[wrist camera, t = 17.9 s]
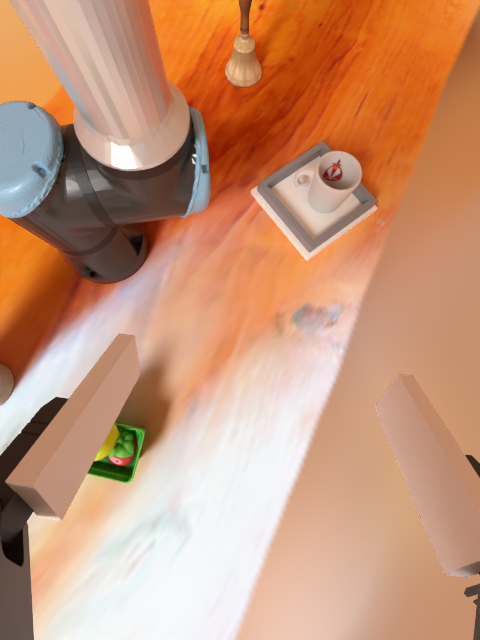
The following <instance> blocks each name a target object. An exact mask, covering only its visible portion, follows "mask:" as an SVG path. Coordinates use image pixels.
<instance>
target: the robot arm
mask: <svg viewBox="0 0 480 640" xmlns="http://www.w3.org/2000/svg"><path fill="white" fill-rule="evenodd" d="M9 1H10V3H11V4H12V6H13V8H14V9H15V11H16V13H17V14H18V16H19V17H20V19H21V21H22V22H23V24H24V25H25V27H26V29H27V30H28V32H29V33H30V35H31V36H32V38H33V40H34V41H35V43H36V44H37V46H38V48H39V49H40V51H41V52H42V54H43V56H44V57H45V59H46V60H47V62H48V64H49V65H50V67H51V68H52V70H53V72H54V73H55V75H56V76H57V78H58V79H59V81H60V83H61V84H62V86H63V87H64V89H65V91H66V92H67V94H68V95H69V97H70V99H71V100H72V102H73V103H74V105H75V109H74V117H73V121H74V124H67V125H59V123H58V122H57V121H56V119H55V118H54V117H53V116H52V115H51V114H50V113H48V112H47V111H46V110H44V109H43V108H41V107H39V106H36V105H35V104H34V103H31V102H26V101H10V102H6V103H3V104H0V214H1V215H3V216H5V217H7V218H8V219H10V220H12V221H13V222H15V223H16V224H18V225H20V226H21V227H23V228H24V229H26V230H28V231H29V232H31V233H33V234H34V235H36V236H37V237H39V238H41V239H42V240H44V241H45V242H47V243H49V244H50V245H52V246H53V247H55V248H57V249H58V251H59V252H60V254H61V255H62V257H63V258H64V260H65V261H66V263H67V264H68V266H69V267H70V268H71V269H72V270H73V271H74V272H76V273H77V274H78V275H80V276H82V277H84V278H85V279H87V280H89V281H92V282H95V283H101V284H111V283H116V282H120V281H122V280H125V279H127V278H128V277H130V276H131V275H133V274H134V273H135V272H136V271H137V270H138V269H139V268H140V267H141V266H142V264H143V263H144V261H145V259H146V256H147V253H148V247H149V241H148V236H147V233H146V230H145V228H144V227H143V225H142V224H141V223H142V222H148V221H155V220H162V219H169V218H176V217H186V216H188V215H190V214H195V213H199V212H202V211H204V210H205V209H206V208H207V206H208V204H209V200H210V186H211V185H210V170H209V152H208V144H207V137H206V131H205V126H204V122H203V118H202V115H201V113H200V111H199V110H198V109H196V108H191V107H190V106H188V104H187V102H186V99H185V97H184V95H183V93H182V92H181V91H180V89H179V88H178V87H177V86H176V85H175V84H174V83H173V82H172V81H171V80H169V79H168V78H167V77H166V74H165V69H164V65H163V61H162V57H161V52H160V48H159V44H158V40H157V35H156V31H155V27H154V23H153V18H152V14H151V10H150V6H149V1H148V0H9ZM140 374H141V373H140V367H139V361H138V354H137V348H136V342H135V336H133V335H126V334H118V336H117V337H116V338H115V340H114V341H113V342H112V343H111V345H110V346H109V347H108V349H107V350H106V351H105V352H104V354H103V355H102V356H101V358H100V359H99V360H98V362H97V363H96V364H95V365H94V367H93V368H92V369H91V371H90V372H89V373H88V375H87V376H86V377H85V378H84V380H83V381H82V382H81V384H80V385H79V386H78V387H77V389H76V390H75V391H74V393H73V394H72V395H71V397H70V398H69V399H66V398H59V397H55V398H54V399H53V400H51V401H50V402H48V403H47V404H46V405H44V406H43V407H41V409H40V410H39V411H38V412H37V413H36V414H35V416H34V417H33V418H32V419H31V421H30V423H28V424H27V425H26V426H25V427H24V429H23V430H22V431H21V433H20V434H18V436H17V437H16V438H15V439H14V440H13V441H12V443H11V444H10V445H9V446H8V447H7V449H6V450H5V451H4V452H3V453H2V454H1V456H0V640H34V634H33V614H32V595H31V576H30V556H29V537H28V525H27V520H28V519H29V517H30V516H31V514H32V512H33V511H34V513H35V514H36V515H37V516H38V517H40V518H47V519H54V520H61V521H62V519H63V517H64V515H65V513H66V512H67V510H68V508H69V506H70V504H71V502H72V500H73V499H74V497H75V495H76V493H77V491H78V489H79V487H80V486H81V484H82V482H83V480H84V478H85V476H86V475H87V473H88V471H89V469H90V467H91V465H92V463H93V462H94V460H95V458H96V456H97V454H98V452H99V450H100V449H101V447H102V445H103V443H104V441H105V439H106V437H107V436H108V434H109V432H110V430H111V428H112V426H113V424H114V423H115V421H116V419H117V417H118V415H119V413H120V412H121V410H122V408H123V406H124V404H125V402H126V400H127V399H128V397H129V395H130V393H131V391H132V389H133V387H134V386H135V384H136V382H137V380H138V378H139V376H140ZM375 410H376V413H377V415H378V418H379V420H380V422H381V425H382V427H383V429H384V432H385V434H386V437H387V439H388V441H389V444H390V446H391V448H392V451H393V453H394V455H395V458H396V460H397V463H398V465H399V467H400V470H401V472H402V475H403V477H404V479H405V482H406V484H407V487H408V489H409V491H410V494H411V496H412V498H413V501H414V503H415V506H416V508H417V510H418V513H419V515H420V518H421V520H422V522H423V524H424V527H425V529H426V532H427V534H428V536H429V539H430V541H431V544H432V546H433V548H434V551H435V553H436V556H437V558H438V560H439V563H440V565H441V568H442V570H443V572H444V574H447V575H453V576H461V577H468V576H472V575H475V574H478V573H479V574H480V463H479V462H478V461H477V460H476V459H474V457H473V456H471V455H464V453H463V452H462V450H461V449H460V447H459V445H458V444H457V442H456V441H455V439H454V438H453V436H452V435H451V433H450V432H449V430H448V428H447V427H446V425H445V424H444V422H443V421H442V419H441V418H440V416H439V414H438V413H437V412H436V410H435V408H434V407H433V405H432V404H431V402H430V401H429V399H428V398H427V396H426V394H425V393H424V391H423V390H422V388H421V387H420V385H419V384H418V382H417V381H416V379H415V378H414V376H412V375H405V374H397V376H396V377H395V379H394V380H393V381H392V383H391V384H390V386H389V387H388V389H387V390H386V391H385V393H384V394H383V396H382V397H381V399H380V400H379V402H378V403H377V404H376V406H375ZM464 594H465V595H466V596H467V597H469V596H473V595H477V594H478V599H476V600H474V601H473V602H474V603H475V604H476V605H477V609H476V619H475V630H474V640H480V584H477V585H474V586H471V587H468V588H466V590H465V592H464Z"/></svg>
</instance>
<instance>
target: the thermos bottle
mask: <svg viewBox="0 0 480 640" xmlns="http://www.w3.org/2000/svg"><path fill="white" fill-rule="evenodd" d="M13 387H14V378H13V375H12V373H11V371H10V370H9V369H8V368H7V367H6V366H4V365H3V364H0V406H1V405H2V404H3V403H4V402H5V401H6V400H7V399H8V398H9V397H10V395H11V393H12V391H13Z"/></svg>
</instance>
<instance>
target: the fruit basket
mask: <svg viewBox="0 0 480 640" xmlns="http://www.w3.org/2000/svg"><path fill="white" fill-rule="evenodd" d="M145 433H146V429H144V428H140V427H133V426H131V425H127V424H120V423H118V422H115V423H114V424H113V426H112V428H111V430H110V432H109V434H108V436H107V437H106V439H105V441H104V443H103V445H102V447H101V449H100V450H99V452H98V454H97V456H96V458H95V460H94V462H93V463H92V465H91V467H90V469H89V471H88V473H87V474H90V475H94V476H98V477H103V478H107V479H111V480H115V481H119V482H123V483H129V482H131V481H132V479H133V477H134V474H135V470H136V466H137V463H138V460H139V455H140V452H141V449H142V445H143V442H144V436H145Z"/></svg>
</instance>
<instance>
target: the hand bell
mask: <svg viewBox="0 0 480 640" xmlns="http://www.w3.org/2000/svg"><path fill="white" fill-rule="evenodd" d="M251 2H252V0H239V5H240V10H241V28H240V31H241V34H240V35H239V36H237V37H236V38H235V40H234V45H233V53H232V57H231V59H230V60H229V61H228V63H227V65H226V68H225V75H226V77H227V79H228V80H229V81H230V82H231V83H232V84H233V85H235V86H238V87H250V86H253V85H255V84H256V83H257V82H258V81H259V80H260V79H261V76H262V68H261V65H260V63H259V62H258V60H257V58H256V50H255V41H254V39H253V37H251V36H250V35H249V11H250V7H251Z"/></svg>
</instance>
